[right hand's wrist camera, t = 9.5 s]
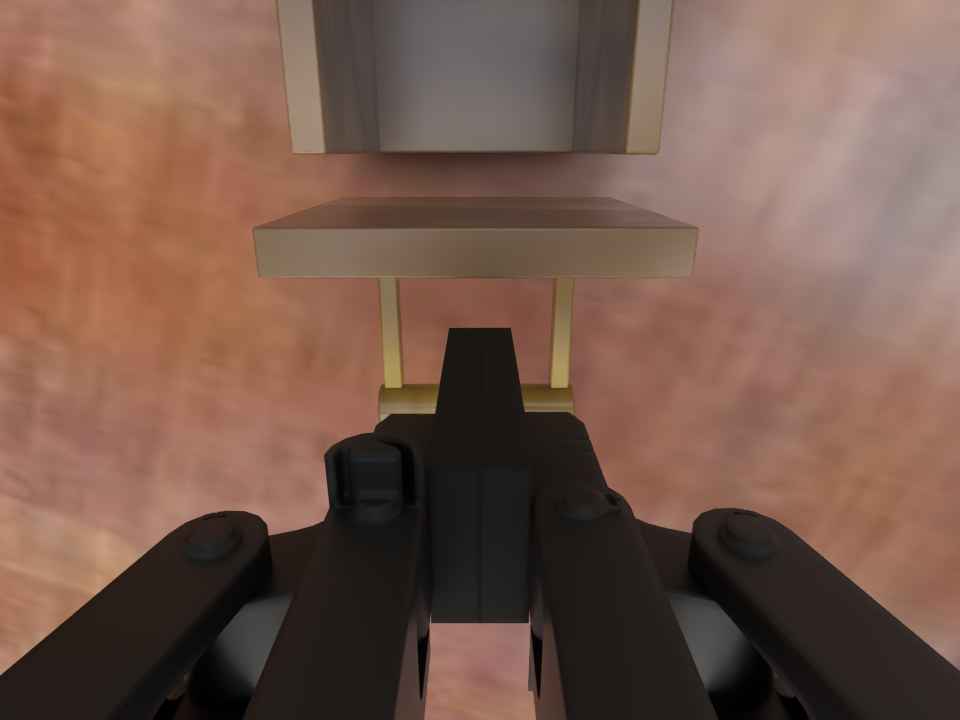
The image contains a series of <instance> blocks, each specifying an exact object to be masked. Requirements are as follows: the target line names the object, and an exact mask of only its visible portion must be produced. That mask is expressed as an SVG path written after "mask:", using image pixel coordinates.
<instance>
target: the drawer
mask: <svg viewBox="0 0 960 720" xmlns="http://www.w3.org/2000/svg"><path fill="white" fill-rule="evenodd" d="M276 7H277V17H278V26H279V36H280V46H281V55H282V65H283V75H284V84H285V94H286V104H287V113H288V123H289V133H290V142H291V151H292V153H293V154H364V153H584V154H657V153H658V152H659V149H660V139H661V129H662V119H663V109H664V99H665V88H666V78H667V68H668V58H669V48H670V38H671V28H672V18H673V8H674V0H276ZM253 238H254V246H255V253H256V261H257V268H258V276H259V277H260V278H378V283H379V299H380V316H381V333H382V350H383V366H384V383H385V384H383V385H381V387H380V390H379V396H378V416H379V421H380V422H381V421H382V420H384V419H385V418H386V417H387V416H389V415H390V414H435V410H436V404H437V398H438V392H439V386H440V384H403V383H404V369H403V348H402V327H401V306H400V285H399V278H553V297H552V320H551V343H550V366H549V383H550V384H520V386H521V392H522V398H523V404H524V410H525V412H570V413H571V414H573V415H575V397H574V390H573V387H572V385H571V384H568V381H569V363H570V346H571V328H572V310H573V292H574V278H691V277H692V276H693V270H694V262H695V254H696V246H697V238H698V228H697V227H695V226H692V225H689V224H686V223H683V222H680V221H677V220H674V219H671V218H669V217H666V216H663V215H660V214H657V213H654V212H651V211H648V210H645V209H643V208H640V207H637V206H634V205H631V204H628V203H625V202H622V201H619V200H616V199H614V198H611V197H342V198H339V199H336V200H333V201H330V202H327V203H324V204H321V205H318V206H315V207H312V208H309V209H307V210H304V211H301V212H298V213H295V214H292V215H289V216H286V217H283V218H280V219H277V220H274V221H271V222H268V223H265V224H262V225H260V226H257V227H254V228H253Z"/></svg>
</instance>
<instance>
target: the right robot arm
mask: <svg viewBox="0 0 960 720" xmlns="http://www.w3.org/2000/svg"><path fill="white" fill-rule="evenodd" d="M324 458H325V468H326V477H327V486H328V496H329V505H330V508H329V510H328V512H327V515H326V517H325V520H324V521H323V522H320V523H318V524H316V525H313V526H310V527H307V528H303V529H299V530H295V531H290V532H285V533H280V534H275V535H271V536H269V535H268V528H267V524H266V523H265V522H264V521H263V520H262V519H261V518H260V517H259V516H257V515H254V514H251V513H248V512H245V511H222V512H218V513H210V514H206V515H204V516H201V517H199V518H196V519H194V520H191V521H189V522H186V523H185V524H183V525H181V526H180V527H178V528H177V529H175V530H174V531H172V532H171V533H169V534H168V535H167V536H166V537H164V538H163V539H162V540H161V541H160V542H158V543H157V544H156V545H155V546H154V547H152V548H151V549H150V550H149V551H148V552H147V553H145V554H144V555H143V556H142V557H141V558H139V559H138V560H137V561H136V562H135V563H133V564H132V565H131V566H130V567H129V568H128V569H126V570H125V571H124V572H123V573H122V574H120V575H119V576H118V577H117V578H116V579H114V580H113V581H112V582H111V583H110V584H109V585H107V586H106V587H105V588H104V589H103V590H101V591H100V592H99V593H98V594H97V595H95V596H94V597H93V598H92V599H91V600H90V601H88V602H87V603H86V604H85V605H84V606H82V607H81V608H80V609H79V610H78V611H76V612H75V613H74V614H73V615H72V616H71V617H69V618H68V619H67V620H66V621H65V622H63V623H62V624H61V625H60V626H59V627H57V628H56V629H55V630H54V631H53V632H52V633H50V634H49V635H48V636H47V637H46V638H44V639H43V640H42V641H41V642H40V643H38V644H37V645H36V646H35V647H34V648H33V649H31V650H30V651H29V652H28V653H27V654H25V655H24V656H23V657H22V658H21V659H19V660H18V661H17V662H16V663H15V664H14V665H12V666H11V667H10V668H9V669H8V670H6V671H5V672H4V673H3V674H2V675H0V720H424V714H425V704H426V693H427V682H428V672H429V661H430V629H429V624H430V614H431V623H529V611H530V620H531V629H530V655H529V681H528V691H533V692H534V703H535V713H536V720H960V671H959V670H958V669H957V668H955V667H954V666H953V665H952V664H951V663H949V662H948V661H947V660H946V659H945V658H943V657H942V656H941V655H940V654H939V653H937V652H936V651H935V650H934V649H933V648H931V647H930V646H929V645H928V644H927V643H926V642H924V641H923V640H922V639H921V638H920V637H918V636H917V635H916V634H915V633H914V632H912V631H911V630H910V629H909V628H908V627H906V626H905V625H904V624H903V623H902V622H900V621H899V620H898V619H897V618H896V617H894V616H893V615H892V614H891V613H890V612H888V611H887V610H886V609H885V608H884V607H882V606H881V605H880V604H879V603H878V602H876V601H875V600H874V599H873V598H872V597H870V596H869V595H868V594H867V593H866V592H864V591H863V590H862V589H861V588H860V587H858V586H857V585H856V584H855V583H854V582H852V581H851V580H850V579H849V578H848V577H846V576H845V575H844V574H843V573H842V572H840V571H839V570H838V569H837V568H836V567H834V566H833V565H832V564H831V563H830V562H828V561H827V560H826V559H825V558H824V557H822V556H821V555H820V554H819V553H818V552H816V551H815V550H814V549H813V548H812V547H810V546H809V545H808V544H807V543H806V542H804V541H803V540H802V539H801V538H800V537H798V536H797V535H796V534H795V533H794V532H792V531H791V530H790V529H788V528H787V527H785V526H783V525H782V524H780V523H779V522H777V521H776V520H774V519H771V518H769V517H766V516H764V515H761V514H758V513H756V512H753V511H749V510H743V509H736V508H719V509H713V510H710V511H707V512H704V513H701V514H700V515H699V516H698V518H697V519H696V520H695V521H694V522H693V528H692V533H688V532H683V531H678V530H673V529H668V528H663V527H659V526H655V525H652V524H648V523H646V522H643V521H641V520H639V519H636V518H635V516H634V514H633V512H632V509H631V507H630V505H629V504H628V503H627V501H626V500H625V499H624V497H623V496H622V495H620V494H618V493H617V492H615V491H614V490H612V489H610V488H608V486H607V484H606V481H605V478H604V476H603V473H602V470H601V468H600V465H599V462H598V460H597V457H596V454H595V452H593V446H592V444H591V441H590V440H589V436H588V433H587V430H586V428H585V425H584V423H583V422H581V421H580V420H579V419H578V418H576V417H575V416H574V415H573V414H571V413H570V412H525V410H524V404H523V398H522V392H521V386H520V380H519V374H518V368H517V363H516V357H515V351H514V345H513V339H512V333H511V328H449V333H448V339H447V345H446V351H445V357H444V363H443V368H442V374H441V380H440V386H439V392H438V398H437V404H436V410H435V414H390V415H389V416H387V417H386V418H385V419H384V420H382V421H381V422H380V423H379V424H377V425H376V427H375V430H374V433H364V434H360V435H356V436H353V437H349V438H346V439H344V440H342V441H340V442H338V443H336V444H335V445H333V446H332V447H331V448H330V449H329V450H328V451H327V452H326V453H325V454H324Z"/></svg>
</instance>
